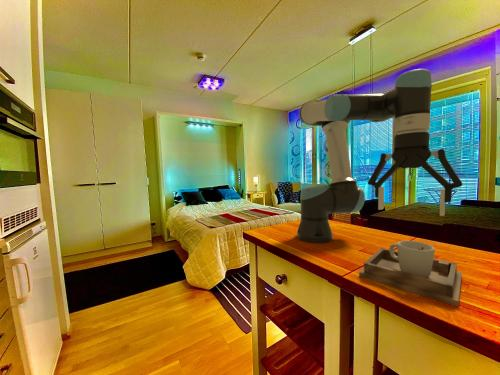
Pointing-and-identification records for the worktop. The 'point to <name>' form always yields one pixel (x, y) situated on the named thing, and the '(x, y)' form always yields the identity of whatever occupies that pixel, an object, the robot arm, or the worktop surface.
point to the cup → (414, 257)
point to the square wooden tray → (415, 277)
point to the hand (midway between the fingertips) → (409, 211)
